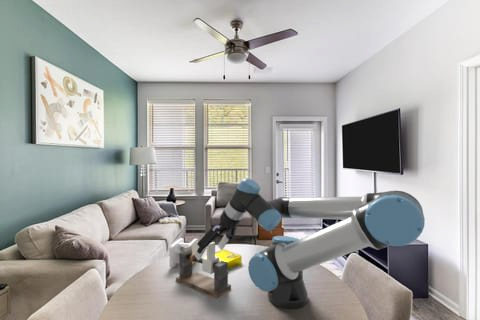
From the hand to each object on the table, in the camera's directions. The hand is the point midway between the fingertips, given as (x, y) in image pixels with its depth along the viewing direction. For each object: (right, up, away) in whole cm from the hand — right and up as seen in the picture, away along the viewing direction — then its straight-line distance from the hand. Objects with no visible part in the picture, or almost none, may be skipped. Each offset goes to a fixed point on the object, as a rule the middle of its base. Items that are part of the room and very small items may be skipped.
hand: (209, 252), depth 100 cm
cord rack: (-3, -15, +4) cm, 16 cm away
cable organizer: (-16, -16, +26) cm, 34 cm away
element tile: (+4, -16, +26) cm, 31 cm away
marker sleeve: (+1, -8, +1) cm, 8 cm away
